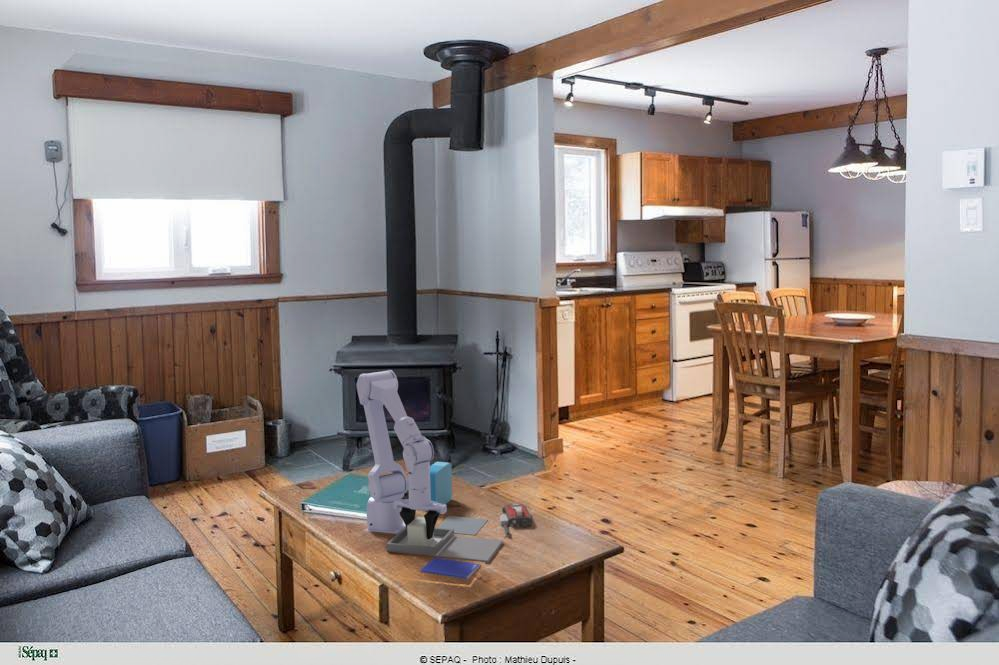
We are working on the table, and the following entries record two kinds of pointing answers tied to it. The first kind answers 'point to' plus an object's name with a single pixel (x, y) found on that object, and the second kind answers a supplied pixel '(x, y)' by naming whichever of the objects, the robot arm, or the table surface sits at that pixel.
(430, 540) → the block
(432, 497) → the blue block
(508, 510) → the walkie-talkie
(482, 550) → the equipment case
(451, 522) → the slate mat
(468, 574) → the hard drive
